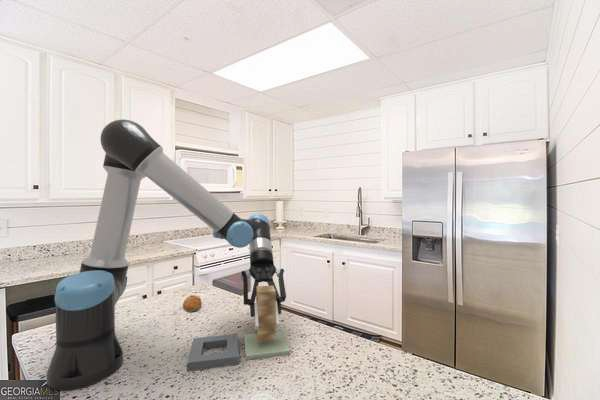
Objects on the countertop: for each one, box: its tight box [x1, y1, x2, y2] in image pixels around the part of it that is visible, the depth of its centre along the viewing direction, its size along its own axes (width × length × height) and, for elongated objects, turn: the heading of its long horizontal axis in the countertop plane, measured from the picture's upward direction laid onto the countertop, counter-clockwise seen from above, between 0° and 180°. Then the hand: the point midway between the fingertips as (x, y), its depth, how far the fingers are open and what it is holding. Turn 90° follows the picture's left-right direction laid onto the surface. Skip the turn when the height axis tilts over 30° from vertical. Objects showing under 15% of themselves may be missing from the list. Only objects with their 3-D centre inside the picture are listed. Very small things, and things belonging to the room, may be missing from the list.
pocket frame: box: [186, 333, 240, 372], centre depth 78 cm, size 12×12×2 cm
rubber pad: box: [243, 329, 291, 361], centre depth 83 cm, size 12×12×1 cm
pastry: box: [182, 294, 203, 313], centre depth 110 cm, size 9×7×4 cm
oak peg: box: [255, 285, 277, 342], centre depth 83 cm, size 5×5×14 cm
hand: (267, 326), depth 79 cm, fingers closed on oak peg, 5 cm apart
